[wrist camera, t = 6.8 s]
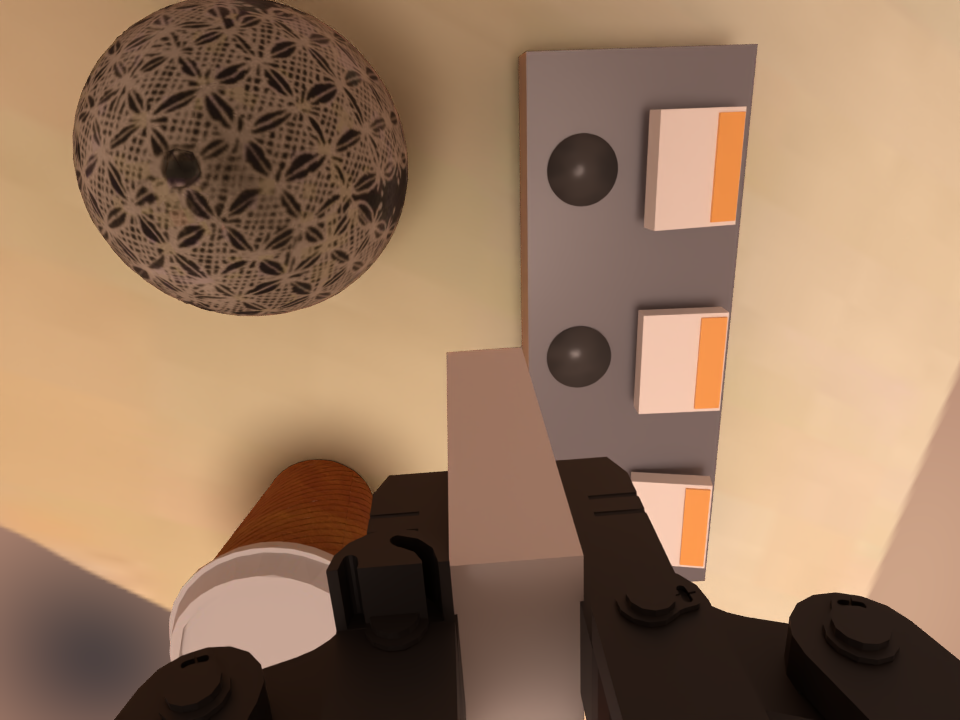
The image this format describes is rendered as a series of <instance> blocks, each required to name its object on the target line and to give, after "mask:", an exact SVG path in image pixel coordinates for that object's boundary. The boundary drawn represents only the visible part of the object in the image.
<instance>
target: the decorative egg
mask: <svg viewBox="0 0 960 720" xmlns="http://www.w3.org/2000/svg"><path fill="white" fill-rule="evenodd" d="M73 160H74V167H75V171H76V176H77V181H78V186H79V189H80V192H81V195H82V198H83V200H84V203H85V206H86V208H87V210H88V212H89V214H90V217H91V219H92V221H93V223H94V224H95V226H96V227H97V229H98V230H99V232H100V233H101V234H102V236H103V237H104V238H105V240H106V241H107V242H108V244H109V245H110V246H111V248H112V249H113V251H114V252H115V253H116V254H117V255H118V256H119V257H120V258H121V259H122V260H123V262H124V263H125V264H126V265H127V266H129V267H130V268H131V269H132V270H133V271H134V272H136V273H137V274H138V275H140V276H141V277H142V278H143V279H144V280H146V281H147V282H149V283H150V284H152V285H153V286H155V287H156V288H158V289H159V290H161V291H162V292H164V293H166V294H168V295H170V296H172V297H174V298H177V299H178V300H181V301H183V302H184V303H186V304H191V305H194V306H196V307H199V308H201V309H204V310H208V311H215V312H218V313H222V314H230V315H238V316H264V315H275V314H282V313H288V312H291V311H295V310H299V309H303V308H306V307H310V306H312V305H315V304H317V303H320V302H322V301H324V300H326V299H328V298H330V297H332V296H334V295H336V294H338V293H340V292H341V291H343V290H344V289H345V288H347V287H348V286H349V285H351V284H352V283H353V282H354V281H356V280H357V279H358V278H359V277H360V276H361V275H362V274H363V273H364V272H365V271H367V270H368V269H369V268H370V267H371V265H372V264H373V263H374V262H375V261H376V259H377V258H378V257H379V255H380V254H381V253H382V251H383V250H384V248H385V247H386V245H387V244H388V242H389V240H390V239H391V237H392V235H393V233H394V231H395V228H396V226H397V224H398V221H399V218H400V215H401V212H402V208H403V205H404V201H405V194H406V188H407V182H408V157H407V149H406V143H405V138H404V133H403V128H402V125H401V122H400V119H399V116H398V113H397V111H396V108H395V106H394V104H393V101H392V99H391V97H390V95H389V93H388V91H387V89H386V87H385V86H384V84H383V82H382V81H381V79H380V77H379V76H378V75H377V73H376V72H375V70H374V69H373V68H372V66H371V65H370V64H369V63H368V62H367V60H366V59H365V58H364V57H363V56H362V55H361V54H360V53H359V51H358V50H357V49H356V48H355V47H354V46H353V45H351V44H350V43H349V41H347V40H346V39H345V38H344V37H343V36H341V35H340V34H339V33H337V32H336V31H335V30H333V29H332V28H330V27H329V26H327V25H326V24H324V23H323V22H321V21H319V20H318V19H316V18H314V17H312V16H310V15H308V14H306V13H304V12H301V11H299V10H296V9H294V8H292V7H289V6H286V5H283V4H280V3H276V2H273V1H269V0H187V1H184V2H180V3H177V4H173V5H170V6H167V7H165V8H162V9H160V10H158V11H156V12H154V13H152V14H150V15H149V16H147V17H145V18H144V19H142V20H140V21H139V22H137V23H135V24H134V25H132V26H131V27H129V28H128V29H127V30H126V31H124V32H123V34H122V35H120V36H119V37H117V38H116V40H115V41H114V43H113V44H112V45H111V46H110V47H109V48H108V49H107V51H106V52H105V53H104V54H103V55H102V56H101V57H100V59H99V60H98V61H97V63H96V65H95V66H94V68H93V70H92V71H91V73H90V75H89V77H88V79H87V82H86V84H85V86H84V88H83V90H82V93H81V96H80V99H79V103H78V106H77V110H76V115H75V123H74V130H73Z"/></svg>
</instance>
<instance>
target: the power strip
mask: <svg viewBox="0 0 960 720" xmlns="http://www.w3.org/2000/svg"><path fill="white" fill-rule="evenodd" d="M757 45H758V44H745V45H713V46H681V47H650V48H618V49H587V50H555V51H526V52H525V53H523V54H522V55H521V56H519V140H520V229H521V318H522V350H523V354H524V357H525V361H526V364H527V367H528V371H529V374H530V377H531V381H532V384H533V387H534V391H535V394H536V398H537V401H538V404H539V408H540V411H541V414H542V418H543V421H544V424H545V428H546V431H547V434H548V438H549V441H550V445H551V448H552V451H553V455H554V458H555V461H556V460H569V459H582V458H595V457H608V458H609V459H611V460H612V461H613V462H614V463H616V464H617V465H618V466H620V467H621V468H622V469H624V470H625V471H626V472H627V473H628V475H629V477H630V479H631V472H644V473H662V474H680V475H699V476H710V478H711V482H712V486H713V488H712V498H711V508H710V518H709V528H708V539H707V549H706V559H705V568H693V567H679V566H672V567H673V569H674V571H675V573H677V574H679V575H681V576H682V577H684V578H686V579H687V580H689V581H705V572H706V562H707V552H708V541H709V531H710V521H711V511H712V501H713V491H714V481H715V471H716V460H717V450H718V440H719V430H720V420H721V410H722V400H723V389H724V379H725V369H726V359H727V349H728V339H729V329H730V319H731V308H732V298H733V288H734V278H735V268H736V258H737V248H738V237H739V227H740V217H741V207H742V197H743V187H744V177H745V166H746V156H747V146H748V136H749V126H750V116H751V106H752V96H753V85H754V75H755V65H756V55H757ZM744 106H747V108H746V118H745V129H744V139H743V149H742V160H741V170H740V180H739V191H738V201H737V212H736V222H735V225H723V226H711V227H698V228H686V229H673V230H661V231H653V230H650V229H647V228H644V214H645V194H646V174H647V154H648V135H649V115H650V110H656V109H683V108H709V107H744ZM701 307H723V308H724V309H725V310H727V311H728V312H729V320H728V330H727V341H726V351H725V361H724V371H723V382H722V392H721V402H720V411H698V412H675V413H652V414H638V412H637V411H636V409H635V407H634V388H635V368H636V348H637V328H638V310H652V309H676V308H701Z"/></svg>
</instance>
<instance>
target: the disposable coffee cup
mask: <svg viewBox="0 0 960 720" xmlns="http://www.w3.org/2000/svg"><path fill="white" fill-rule="evenodd" d="M372 499H373V496H372V494H371V491H370V489H369V487H368V485H367V484H366V482H365V481H364V480H363V479H362V478H361V477H360V476H359V475H358V474H357V473H356V472H355V471H353V470H352V469H350V468H348V467H346V466H344V465H342V464H339V463H336V462H333V461H327V460H308V461H304V462H299V463H297V464H295V465H292V466H290V467H288V468H287V469H285V470H284V471H283V472H281V473H280V474H279V475H278V476H277V478H276V479H275V480H274V481H273V483H272V484H271V486H270V487H269V488H268V489H267V491H266V492H265V493H264V495H263V496H262V497H261V499H260V500H259V501H258V502H257V504H256V505H255V506H254V508H253V509H252V510H251V511H250V513H249V514H248V515H247V517H246V518H245V519H244V521H243V522H242V523H241V524H240V526H239V527H238V529H237V530H236V531H235V532H234V534H233V535H232V536H231V538H230V539H229V540H228V542H227V543H226V544H225V545H224V547H223V548H222V549H221V551H220V552H219V553H218V555H217V556H216V557H215V558H214V560H212V561H211V562H209V563H208V564H206V565H205V566H203V567H202V568H200V569H198V571H197V572H196V573H195V574H194V575H193V576H192V577H191V578H190V579H189V580H188V581H187V583H186V584H185V585H184V586H183V587H182V589H181V590H180V592H179V594H178V596H177V598H176V600H175V601H174V604H173V608H172V611H171V615H170V619H169V633H170V642H171V643H170V658H171V662H172V661H173V660H175V659H177V658H178V657H180V656H182V655H185V654H188V653H191V652H194V651H197V650H200V649H203V648H207V647H223V646H231V647H235V648H238V649H241V650H244V651H248V652H250V653H251V654H252V655H253V656H254V658H255V659H256V660H257V661H258V662H259V663H260V664H261V666H262V669H263V668H266V667H269V666H272V665H275V664H278V663H281V662H284V661H287V660H290V659H293V658H296V657H298V656H301V655H303V654H305V653H307V652H310V651H312V650H314V649H316V648H318V647H319V646H321V645H322V644H324V643H325V642H327V641H328V640H330V639H331V638H332V637H333V636H334V635H335V634H336V626H335V620H334V615H333V609H332V603H331V598H330V592H329V586H328V581H327V575H326V570H327V568H328V566H329V564H330V562H331V560H332V558H333V557H334V555H335V554H337V553H338V552H339V551H340V550H341V549H342V548H344V547H345V546H346V545H347V544H348V543H350V542H352V541H354V540H356V539H358V538H361V537H363V536H365V535H367V528H368V522H369V519H370V510H371V505H372Z"/></svg>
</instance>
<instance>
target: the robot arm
mask: <svg viewBox="0 0 960 720" xmlns="http://www.w3.org/2000/svg"><path fill="white" fill-rule="evenodd" d="M447 429H448V471H442V472H429V473H416V474H403V475H390V476H388V478H387V479H386V480H385V481H384V482H383V483H382V485H381V486H380V487H379V488H378V489H377V491H376V492H375V493H374V494H373V499H372V505H371V510H370V519H369V522H368V528H367V535H365V536H363V537H361V538H358V539H356V540H354V541H352V542H350V543H348V544H347V545H346V546H345V547H344V548H342V549H341V550H340V551H339V552H338V553H337V554H335V555H334V557H333V558H332V560H331V562H330V564H329V566H328V568H327V570H326V575H327V581H328V586H329V592H330V598H331V603H332V609H333V615H334V620H335V626H336V634H335V635H334V636H333V637H332V638H331V639H330V640H328V641H327V642H325V643H324V644H322V645H321V646H319V647H318V648H316V649H314V650H312V651H310V652H307V653H305V654H303V655H301V656H298V657H296V658H293V659H290V660H287V661H284V662H281V663H278V664H275V665H272V666H269V667H266V668H263V669H262V666H261V664H260V663H259V662H258V661H257V660H256V659H255V658H254V656H253V655H252V654H251V653H250V652H248V651H244V650H241V649H238V648H235V647H231V646H223V647H207V648H203V649H200V650H197V651H194V652H191V653H188V654H185V655H182V656H180V657H178V658H177V659H175V660H173V661H172V662H170V663H168V664H167V665H165V666H163V667H162V668H160V669H158V670H157V672H155V673H154V674H153V675H152V676H151V677H150V678H149V679H148V680H147V681H146V682H145V683H144V684H143V685H142V686H141V687H140V688H139V689H138V690H137V691H136V693H135V694H134V695H133V696H132V698H131V699H130V700H129V702H128V703H127V704H126V705H125V707H124V708H123V709H122V710H121V712H120V713H119V714H118V715H117V717H116V718H115V719H114V720H584V711H585V716H586V720H960V660H959V659H957V658H956V657H955V656H954V655H952V654H951V653H950V652H949V651H947V650H946V649H945V648H944V647H943V646H941V645H940V644H939V643H938V642H936V641H935V640H934V639H933V638H931V637H930V636H929V635H928V634H926V633H925V632H924V631H923V630H922V629H920V628H919V627H918V626H917V625H915V624H914V623H913V622H912V621H910V620H909V619H907V618H906V617H904V616H902V615H901V614H899V613H898V612H896V611H895V610H893V609H891V608H890V607H888V606H886V605H883V604H881V603H878V602H875V601H873V600H870V599H867V598H864V597H862V596H856V595H849V594H842V593H827V594H818V595H812V596H810V597H808V598H807V599H805V600H803V601H801V602H799V603H797V605H796V606H795V608H794V610H793V612H792V614H791V615H790V617H789V624H787V623H781V622H775V621H768V620H762V619H756V618H749V617H744V616H740V615H736V614H731V613H727V612H725V611H722V610H720V609H717V608H715V607H712V606H711V604H710V602H709V600H708V599H707V598H706V596H705V595H704V594H703V593H702V591H701V590H700V589H699V588H698V586H697V585H695V584H694V583H692V582H691V581H689V580H687V579H686V578H684V577H682V576H681V575H679V574H677V573H675V571H674V569H673V567H672V565H671V563H670V561H669V559H668V557H667V555H666V553H665V550H664V548H663V546H662V544H661V542H660V540H659V538H658V536H657V534H656V531H655V529H654V527H653V525H652V523H651V521H650V519H649V517H648V515H647V513H645V509H644V506H643V504H642V502H641V500H640V498H639V496H637V491H636V489H635V487H634V485H633V483H632V481H631V479H630V477H629V475H628V473H627V472H626V471H625V470H624V469H622V468H621V467H620V466H618V465H617V464H616V463H614V462H613V461H612V460H611V459H609V458H608V457H595V458H582V459H569V460H556V461H555V458H554V455H553V451H552V448H551V445H550V441H549V438H548V434H547V431H546V428H545V424H544V421H543V418H542V414H541V411H540V408H539V404H538V401H537V398H536V394H535V391H534V387H533V384H532V381H531V377H530V374H529V371H528V367H527V364H526V361H525V357H524V354H523V350H522V347H514V348H500V349H486V350H473V351H459V352H447Z"/></svg>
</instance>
